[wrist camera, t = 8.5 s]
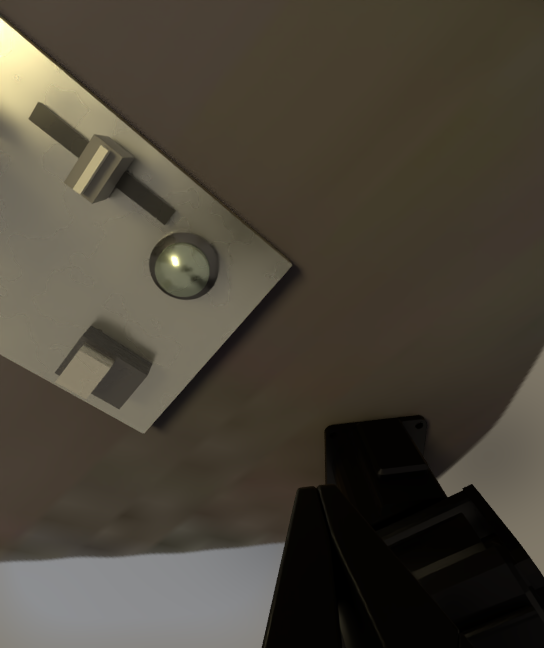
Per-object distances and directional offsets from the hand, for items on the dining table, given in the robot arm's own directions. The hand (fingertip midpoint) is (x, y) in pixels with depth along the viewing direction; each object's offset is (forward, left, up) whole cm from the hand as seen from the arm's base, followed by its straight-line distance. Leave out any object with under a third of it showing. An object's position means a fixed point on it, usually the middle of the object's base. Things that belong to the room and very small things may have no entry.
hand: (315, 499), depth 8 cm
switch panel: (+4, +10, -13) cm, 17 cm away
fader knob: (+7, +6, -12) cm, 15 cm away
